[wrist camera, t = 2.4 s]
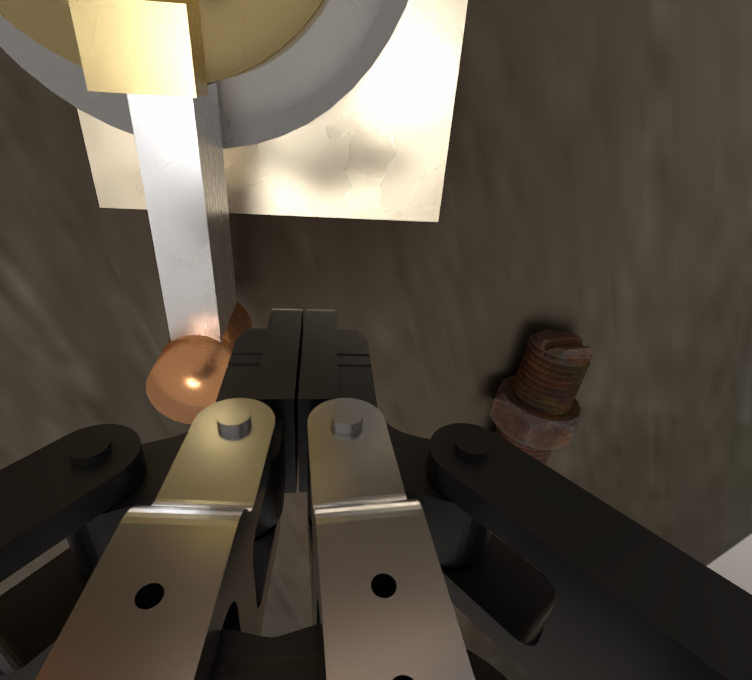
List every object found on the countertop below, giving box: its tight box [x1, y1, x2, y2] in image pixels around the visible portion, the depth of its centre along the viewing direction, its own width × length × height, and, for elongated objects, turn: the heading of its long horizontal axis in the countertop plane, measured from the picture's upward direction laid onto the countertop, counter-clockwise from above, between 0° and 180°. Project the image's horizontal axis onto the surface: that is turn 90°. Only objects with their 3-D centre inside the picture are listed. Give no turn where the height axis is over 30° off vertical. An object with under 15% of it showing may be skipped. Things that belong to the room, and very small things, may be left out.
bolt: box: [489, 330, 592, 559], centre depth 28 cm, size 6×5×15 cm
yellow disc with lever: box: [0, 0, 329, 424], centre depth 13 cm, size 20×10×4 cm, turn 176°
